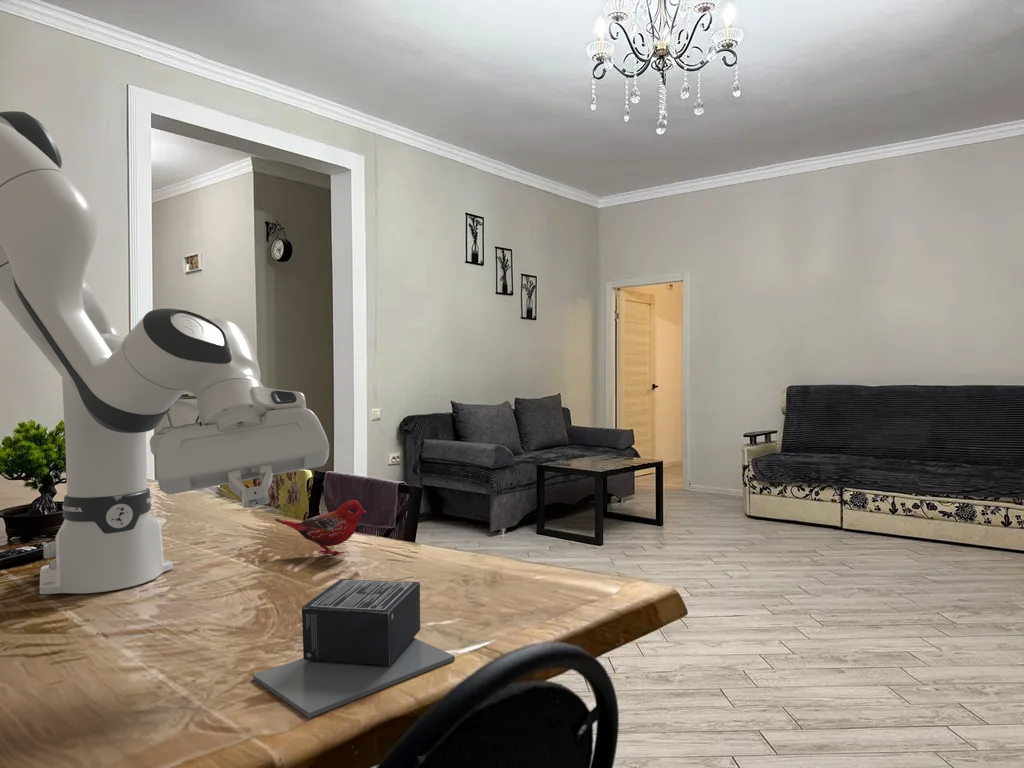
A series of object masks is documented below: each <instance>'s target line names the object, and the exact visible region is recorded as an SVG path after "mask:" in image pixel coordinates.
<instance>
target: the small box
mask: <svg viewBox="0 0 1024 768" xmlns="http://www.w3.org/2000/svg"><path fill="white" fill-rule="evenodd" d="M301 625H302V652H303V653H302V654H303V658H304V660H315V661H331V662H345V663H359V664H372V665H386V666H390V665H391V664H392V663H393V662H394V661H395V659H396V658H397V657H398V656H399V654H400V653H401V652H402V651H403V650H404V648H405V647H406V646H407V645H408V644H409V643H410V641H411V640H412V639H413V638H415V637H416V635H417V634H418V633H419V632H421V583H420V582H419V581H385V580H384V581H383V580H367V579H366V580H364V579H352V578H351V579H350V578H340V579H339V580H338V581H336V582H335V583H333V584H332V585H331V586H329V587H328V588H326V589H325V590H323V591H322V592H320V594H318V595H316V596H315V597H313V598H312V599H311V600H310V601H307V603H305V604H304V605H302V607H301Z"/></svg>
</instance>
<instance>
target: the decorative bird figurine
mask: <svg viewBox="0 0 1024 768" xmlns="http://www.w3.org/2000/svg"><path fill="white" fill-rule="evenodd" d="M363 514H367V511H366V510H365V509H364V508H363V507H362V504H361V503H360V502H359V501H358V500H355V499H351V500H348V501H345V502H343V503H342V504H341V505H340V506H339V507H337V509H335V510H334V511H331V512H328V513H323V514H320V515H316V516H312V517H311V518H308V519H305V520H303V521H301V522H296V521H290V520H285V519H280V518H274V521H276V522H278V523H280V524H282V525H285V526H286V527H290V528H293V529H294V530H295V531H297V532H298V533H299V534H300V535H301V536H302V537H303V538H304V539H305V540H308V541H311V542H312V543H315V544H317V545H319V546H320V547H321V548H322V549H324V550H320V551H319V552H318V554H320V553H322V554H323V555H333V556H337V555H341V554H346V552H344V551H340V552H339V551H337V550H332V549H330V548H329V547H333V546H339V545H341V544H343V543H344V542H345V543H346V541H348V540H349V539H350V538H351V537H352V536H353V535H354V534H355V531H356V530H357V527H358V524H359V522H360V520H361V518H362V515H363Z"/></svg>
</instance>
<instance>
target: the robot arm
mask: <svg viewBox="0 0 1024 768" xmlns="http://www.w3.org/2000/svg"><path fill="white" fill-rule="evenodd" d="M62 161H63V160H62V157H61V154H60V151H59V148H58V145H57V143H56V142H55V139H53V136H52V135H51V134H50V132H49V131H48V130H47V128H46V127H45V126H44V124H43V123H42V122H40V121H39V120H38V119H37V118H35V117H34V116H32V115H29V113H27V112H25V111H20V110H19V111H17V110H16V111H15V110H12V111H11V110H10V111H0V302H2V304H3V306H5V308H6V309H7V310H8V312H9V313H10V315H11V316H12V317H13V318H14V320H15V321H16V322H17V323H18V324H19V326H20V328H22V329H23V331H25V333H26V334H27V336H29V338H30V339H31V340H32V341H33V343H34V344H35V345H36V347H37V348H38V349H39V351H41V353H42V354H43V355H44V356H45V357H46V358H47V360H48V361H49V363H51V365H52V366H53V368H54V369H55V370H56V371H57V372H58V374H60V376H61V377H62V378H61V379H62V382H61V383H62V400H63V401H62V405H63V420H64V421H63V423H64V440H65V441H64V442H65V468H66V469H65V474H66V475H65V476H66V477H65V478H66V494H65V496H63V503H62V507H61V508H62V517H63V519H64V520H63V522H62V524H61V525H60V527H59V530H58V531H57V533H56V536H55V540H54V541H52V540H51V541H49V542H48V543H44V544H43V547H42V548H43V559H46V560H47V559H51V558H55V560H49V562H48V564H46V565H43V566H41V567H40V572H39V594H40V595H52V594H53V595H54V594H93V593H103V592H111V591H116V590H121V589H127V588H132V587H135V586H139V585H141V584H145V583H147V582H150V581H152V580H154V579H156V578H158V577H159V576H161V575H162V574H163V573H165V572H168V571H171V570H172V569H174V566H173V561H171V560H169V559H168V560H167V559H165V558H164V552H163V551H164V550H163V549H164V548H163V547H164V546H163V538H162V527H161V522H160V520H158V519H157V518H155V517H154V516H152V514H151V512H150V511H151V510H152V504H151V502H152V496H151V489H150V488H149V487H148V479H147V477H148V475H147V474H148V472H147V432H150V431H152V430H154V429H156V427H158V426H159V424H160V423H161V422H162V420H163V419H164V418H165V416H166V415H167V414H168V412H169V411H170V410H171V407H172V406H173V405H174V404H175V403H176V402H177V401H178V400H179V399H180V398H181V396H182V395H183V394H185V392H188V393H191V394H193V395H194V396H195V398H196V408H197V412H198V418H199V421H198V422H192V423H186V424H182V425H177V426H166V427H162V428H161V430H160V431H158V432H155V433H154V434H153V435H151V437H150V440H149V445H150V446H149V447H150V452H151V454H152V455H153V456H154V457H156V474H157V483H158V486H159V489H160V491H161V492H163V493H165V494H166V495H175V494H180V493H186V492H192V491H197V490H203V489H207V488H212V487H218V486H222V485H223V486H224V485H228V487H229V490H230V491H231V492H232V493H234V494H235V495H236V496H238V497H239V498H240V499H241V501H242V507H243V509H247V508H251V507H257V506H262V505H267V504H269V503H270V495H269V491H270V487H271V485H272V483H273V476H276V475H282V474H288V473H292V472H296V471H297V472H298V471H303V470H309V469H314V468H321V467H323V466H324V465H325V464H326V463H327V461H328V459H329V455H330V442H329V440H328V437H327V435H326V432H325V430H324V428H323V426H322V423H321V422H320V420H319V418H318V417H317V415H316V414H315V413H314V412H313V411H312V410H310V409H308V408H307V403H306V402H307V401H306V398H305V397H306V396H305V394H303V392H300V391H294V390H293V391H292V390H286V389H285V390H284V389H283V390H282V389H276V388H270V387H265V386H264V385H263V384H262V382H261V379H262V378H261V377H262V376H261V373H262V372H261V369H260V365H259V364H260V363H259V361H258V358H257V355H256V353H255V349H254V347H253V346H252V343H251V342H250V339H249V338H248V336H247V335H246V333H245V332H244V331H243V330H242V328H241V327H239V326H238V325H237V324H236V323H234V322H232V321H231V320H228V319H225V318H218V317H217V318H216V317H214V318H213V317H212V318H206V317H205V316H202V315H201V314H198V313H195V312H193V311H190V310H189V311H188V310H184V309H176V308H157V309H152V310H150V311H147V312H146V313H145V315H144V316H143V317H142V318H141V319H140V320H139V321H138V323H136V325H135V326H134V327H133V328H132V329H131V330H130V331H129V333H128V334H127V335H126V336H124V335H123V333H122V332H121V330H120V328H119V327H118V326H117V324H116V323H115V322H114V320H113V319H112V317H111V316H110V314H109V313H108V312H107V310H106V308H105V307H104V305H103V304H102V302H101V301H100V299H99V298H98V297H97V295H96V294H95V292H94V291H93V289H92V287H91V286H90V285H89V283H88V282H87V281H86V279H85V277H86V272H87V267H88V265H89V261H90V259H91V256H92V253H93V250H94V247H95V245H96V240H97V231H98V230H97V218H96V214H95V212H94V210H93V209H92V207H91V204H90V203H89V201H88V200H87V198H86V196H85V195H84V194H83V193H82V191H81V190H80V189H79V188H78V187H77V185H75V183H74V182H73V181H72V179H70V178H69V177H68V176H67V174H65V172H64V171H63V170H62V169H61V168H62ZM255 479H259V480H260V483H261V484H260V485H258V486H253V487H247V486H246V485H244V484H243V482H244V481H249V480H255Z"/></svg>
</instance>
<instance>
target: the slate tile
mask: <svg viewBox="0 0 1024 768" xmlns="http://www.w3.org/2000/svg"><path fill="white" fill-rule="evenodd" d="M455 660H456V655H454V654H452V653H450V652H447V651H445V650H442V649H441V648H439V647H435V646H433V645H431V644H429V643H426V642H424V641H422V640H420V639H417V638H415V637H414V638H413V639H412V640H411V641H410V643H409V644H408V645H407V646H406V647H405V648H404V650H403V651H402V652H401V653H400V654H399V656H398V657H397V658H396V659H395V661H394V662H393V663H392V664H391V665H390V666H386V665H372V664H359V663H345V662H331V661H315V660H304V657H303V658H299V659H297V660H293V661H291V662H288V663H285V664H281V665H279V666H275V667H273V668H269V669H266V670H263V671H260V672H257V673H255V674H252V680H253V681H255V682H256V683H258V684H259V685H261V686H262V687H263V688H264V689H267V691H269V692H270V693H272V694H274V695H275V696H276V697H278V698H279V699H280V700H281V701H283V702H285V703H287V704H288V705H289V704H290V705H289V706H290V707H293V708H294V709H295V710H296V711H298V712H300V713H301V714H302V715H304V716H305V717H307V718H308V719H311V718H314V717H316V716H319V715H321V714H324V713H326V712H328V711H331V710H333V709H336V708H339V707H340V706H344V705H346V704H349V703H351V702H354V701H356V700H358V699H361V698H363V697H366V696H368V695H371V694H373V693H377V692H379V691H381V690H384V689H385V688H388V687H391V686H394V685H396V684H399V683H400V682H404V681H406V680H408V679H411V678H414V677H416V676H419V675H421V674H423V673H425V672H428V671H431V670H434V669H436V668H438V667H441V666H443V665H446V664H449V663H450V662H454V661H455Z"/></svg>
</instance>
